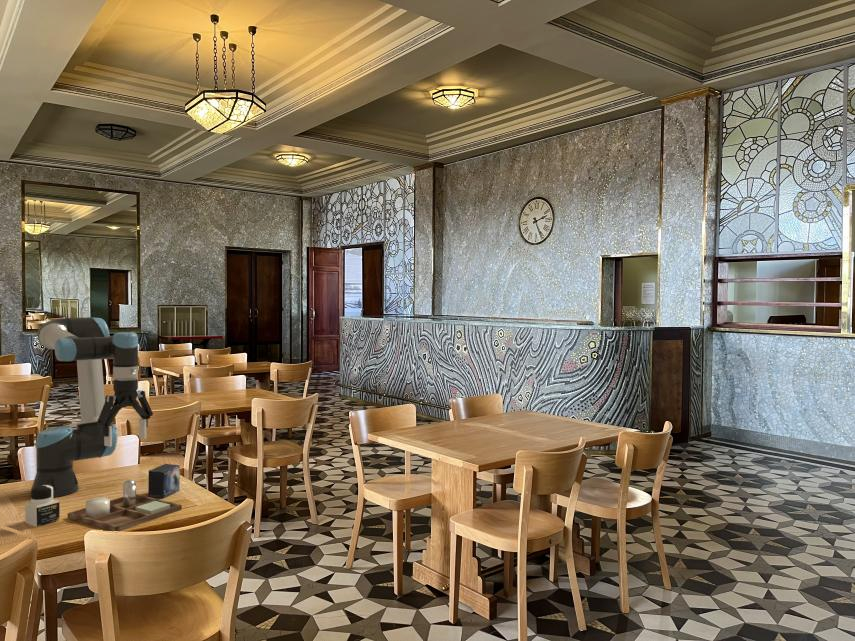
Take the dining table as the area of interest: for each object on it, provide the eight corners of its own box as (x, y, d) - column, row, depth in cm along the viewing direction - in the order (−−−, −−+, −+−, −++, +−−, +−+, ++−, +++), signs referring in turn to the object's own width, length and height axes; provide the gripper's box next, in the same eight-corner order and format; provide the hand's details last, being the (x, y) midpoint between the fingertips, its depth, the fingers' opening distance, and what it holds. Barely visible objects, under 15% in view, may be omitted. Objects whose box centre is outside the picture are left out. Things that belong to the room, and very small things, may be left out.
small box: (163, 501, 232) (163, 471, 232) (147, 499, 234) (147, 470, 233) (180, 492, 243) (180, 464, 242) (164, 491, 244) (164, 463, 244)
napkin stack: (135, 513, 217) (135, 507, 217) (155, 506, 224) (155, 500, 224) (151, 517, 214) (151, 510, 214) (170, 510, 220) (170, 504, 220)
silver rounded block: (81, 517, 213) (80, 501, 213) (100, 511, 219) (100, 496, 219) (94, 521, 209) (94, 505, 209) (114, 514, 216) (114, 499, 215)
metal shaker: (120, 506, 224) (120, 480, 223) (131, 503, 227) (130, 477, 227) (128, 508, 222) (128, 482, 221) (138, 505, 225) (138, 479, 225)
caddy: (67, 520, 212) (67, 513, 212) (133, 500, 233) (133, 493, 233) (116, 534, 200) (116, 527, 200) (181, 511, 221) (181, 504, 221)
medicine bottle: (37, 529, 204) (36, 491, 203) (24, 525, 207) (24, 487, 207) (60, 523, 210) (59, 485, 209) (48, 518, 213) (47, 482, 213)
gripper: (100, 384, 207) (100, 451, 208) (163, 375, 229) (163, 435, 230) (84, 382, 210) (84, 448, 211) (148, 373, 232) (148, 433, 233)
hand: (125, 441), depth 221 cm, fingers open, 13 cm apart
